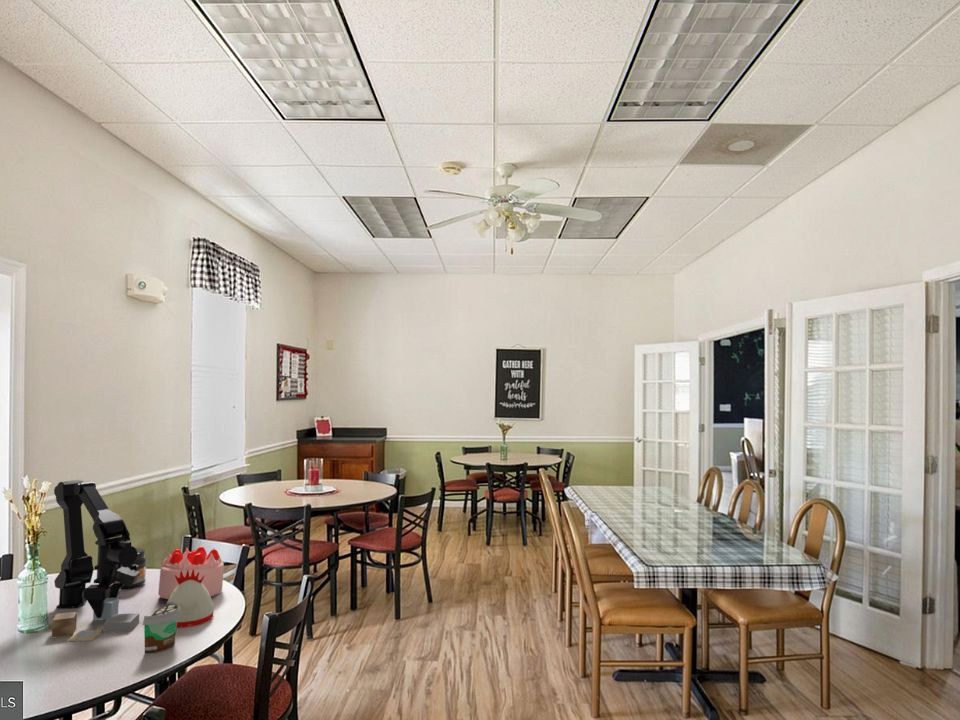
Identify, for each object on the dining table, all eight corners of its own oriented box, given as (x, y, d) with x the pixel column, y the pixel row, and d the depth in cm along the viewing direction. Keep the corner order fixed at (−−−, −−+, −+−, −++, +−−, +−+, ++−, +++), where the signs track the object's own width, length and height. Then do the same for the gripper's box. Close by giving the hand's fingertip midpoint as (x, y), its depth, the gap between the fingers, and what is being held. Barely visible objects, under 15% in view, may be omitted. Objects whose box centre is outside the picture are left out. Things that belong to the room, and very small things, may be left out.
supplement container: (152, 583, 219) (153, 549, 220) (127, 592, 209) (128, 556, 210) (129, 579, 223) (131, 546, 223) (103, 588, 213) (105, 553, 213)
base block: (103, 633, 175) (103, 623, 176) (113, 624, 182) (114, 614, 182) (129, 632, 177) (130, 622, 177) (138, 623, 184) (139, 613, 184)
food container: (164, 656, 161) (166, 617, 162) (141, 655, 161) (143, 617, 162) (187, 637, 173) (189, 601, 174) (166, 636, 174) (167, 600, 174)
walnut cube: (51, 638, 171) (52, 620, 171) (55, 631, 176) (56, 613, 176) (72, 635, 173) (73, 617, 173) (76, 629, 178) (77, 611, 178)
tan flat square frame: (68, 641, 169) (68, 638, 169) (79, 632, 175) (79, 630, 175) (92, 640, 170) (92, 637, 170) (102, 631, 176) (102, 629, 176)
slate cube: (93, 620, 184) (93, 603, 185) (100, 614, 189) (101, 598, 189) (111, 619, 185) (111, 603, 185) (118, 613, 190) (118, 597, 190)
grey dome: (166, 613, 191) (168, 564, 192) (214, 608, 196) (216, 561, 197) (159, 630, 178) (162, 577, 179) (211, 624, 183) (213, 573, 184)
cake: (146, 594, 205) (150, 550, 207) (201, 583, 221) (204, 542, 223) (179, 604, 194) (183, 557, 196) (235, 592, 211) (238, 549, 212)
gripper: (123, 568, 180) (121, 622, 179) (148, 551, 198) (145, 600, 198) (82, 569, 178) (80, 624, 178) (110, 552, 197) (108, 601, 196)
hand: (105, 612), depth 187 cm, fingers open, 9 cm apart
